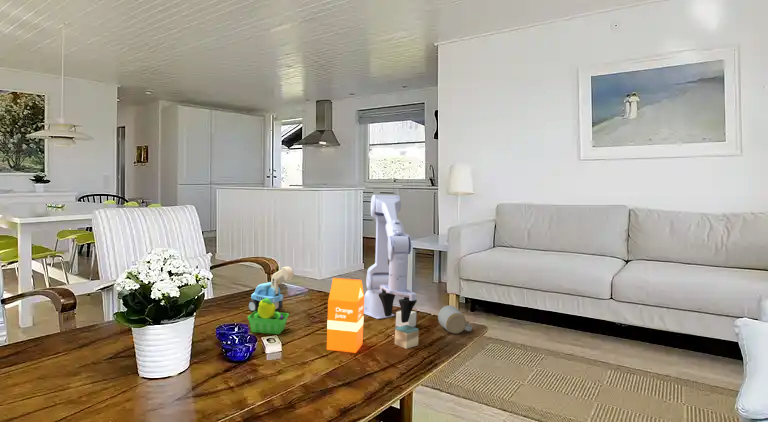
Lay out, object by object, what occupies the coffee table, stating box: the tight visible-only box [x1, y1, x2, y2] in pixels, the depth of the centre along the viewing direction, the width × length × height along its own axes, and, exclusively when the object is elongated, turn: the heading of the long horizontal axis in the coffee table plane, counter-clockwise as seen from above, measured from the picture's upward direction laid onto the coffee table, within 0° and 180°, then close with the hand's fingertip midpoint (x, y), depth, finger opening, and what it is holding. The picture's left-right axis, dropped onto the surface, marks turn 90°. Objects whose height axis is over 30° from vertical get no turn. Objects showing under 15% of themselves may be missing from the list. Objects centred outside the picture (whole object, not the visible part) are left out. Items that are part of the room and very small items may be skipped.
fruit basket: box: [247, 298, 290, 335], centre depth 148 cm, size 11×9×11 cm
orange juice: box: [326, 277, 365, 354], centre depth 136 cm, size 8×9×20 cm
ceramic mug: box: [437, 304, 473, 335], centre depth 155 cm, size 11×8×8 cm
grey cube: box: [395, 310, 417, 328], centre depth 158 cm, size 5×5×5 cm
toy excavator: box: [247, 266, 295, 312], centre depth 169 cm, size 9×17×17 cm, turn 60°
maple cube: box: [394, 325, 420, 350], centre depth 140 cm, size 5×5×5 cm
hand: (396, 318), depth 144 cm, fingers open, 7 cm apart
